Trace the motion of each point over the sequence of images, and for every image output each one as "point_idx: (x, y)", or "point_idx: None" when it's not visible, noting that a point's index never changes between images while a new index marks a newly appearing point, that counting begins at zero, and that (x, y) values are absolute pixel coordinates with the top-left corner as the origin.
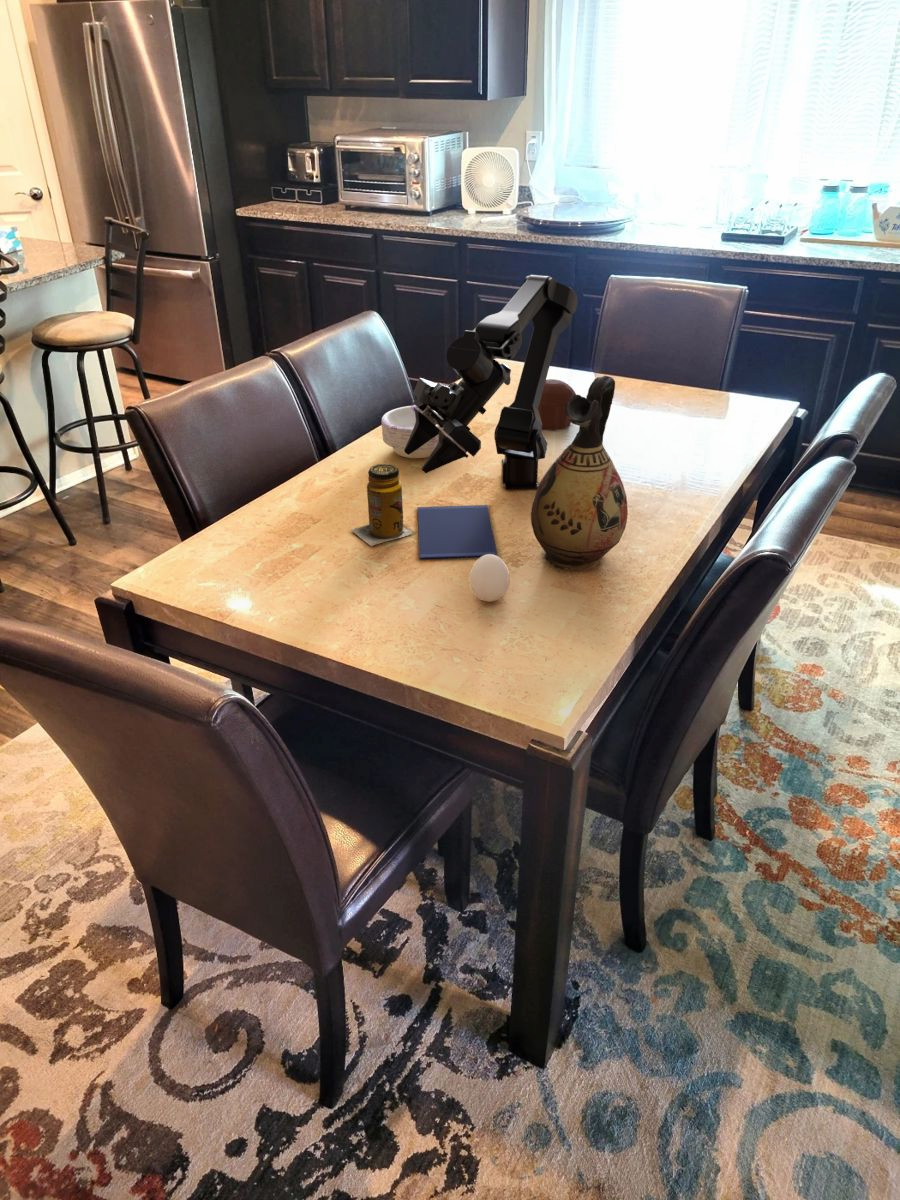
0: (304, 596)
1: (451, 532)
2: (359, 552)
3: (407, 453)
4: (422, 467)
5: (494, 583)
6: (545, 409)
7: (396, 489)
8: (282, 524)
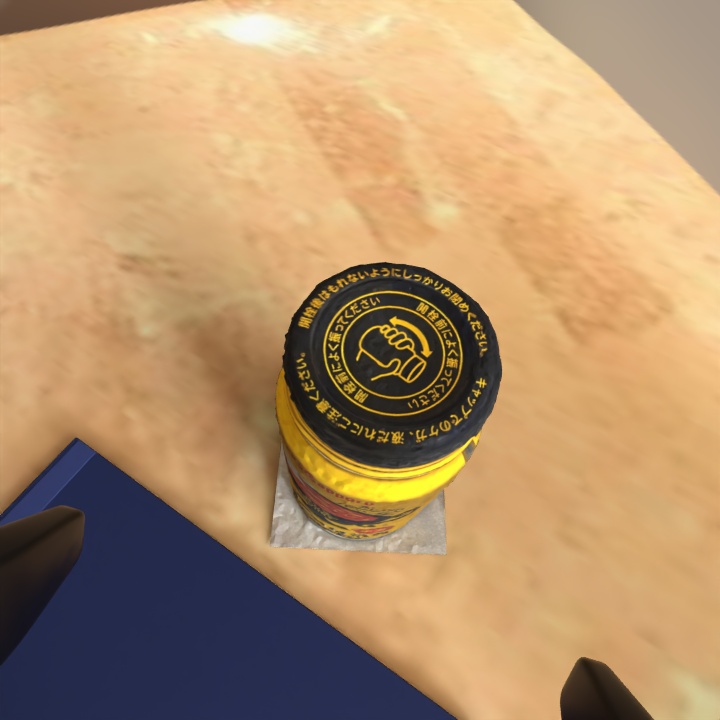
0: (177, 112)
1: (139, 708)
2: (284, 316)
3: (568, 688)
4: (59, 513)
5: None
6: None
7: (279, 414)
8: (599, 244)
